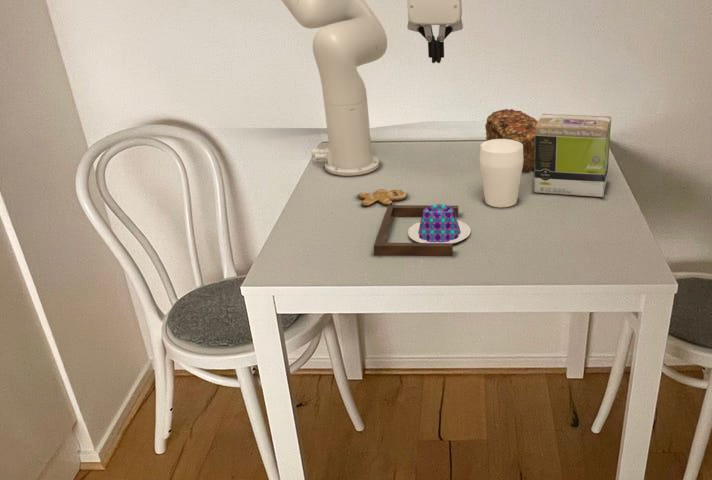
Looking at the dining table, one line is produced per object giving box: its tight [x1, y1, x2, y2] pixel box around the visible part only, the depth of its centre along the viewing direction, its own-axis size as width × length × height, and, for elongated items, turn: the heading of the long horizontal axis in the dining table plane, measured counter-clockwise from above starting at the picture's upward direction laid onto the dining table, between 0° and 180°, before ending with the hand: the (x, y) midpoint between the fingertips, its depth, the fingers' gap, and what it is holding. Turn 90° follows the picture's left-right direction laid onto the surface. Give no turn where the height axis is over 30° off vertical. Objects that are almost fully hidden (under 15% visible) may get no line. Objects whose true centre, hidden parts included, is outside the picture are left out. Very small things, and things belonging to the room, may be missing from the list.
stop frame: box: [373, 204, 460, 257], centre depth 145 cm, size 14×18×2 cm
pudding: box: [407, 203, 471, 244], centre depth 144 cm, size 12×12×5 cm
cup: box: [478, 139, 524, 209], centre depth 155 cm, size 9×9×12 cm
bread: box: [484, 108, 539, 173], centre depth 178 cm, size 19×11×10 cm, turn 20°
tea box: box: [533, 113, 612, 198], centre depth 161 cm, size 15×10×15 cm, turn 77°
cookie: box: [357, 188, 407, 207], centre depth 160 cm, size 8×1×10 cm
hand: (436, 61), depth 150 cm, fingers closed
